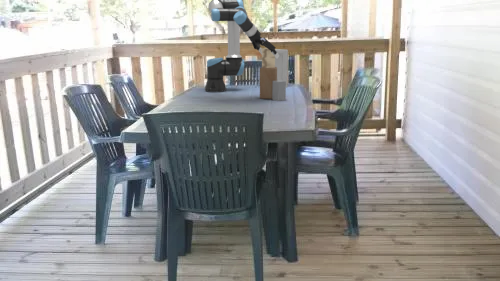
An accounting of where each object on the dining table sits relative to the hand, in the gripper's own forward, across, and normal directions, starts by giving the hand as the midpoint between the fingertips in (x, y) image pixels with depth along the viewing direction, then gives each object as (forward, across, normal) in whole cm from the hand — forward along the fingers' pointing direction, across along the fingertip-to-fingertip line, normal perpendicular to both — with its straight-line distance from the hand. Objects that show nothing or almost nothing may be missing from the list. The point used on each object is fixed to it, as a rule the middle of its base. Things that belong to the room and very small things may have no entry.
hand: (271, 56), depth 294 cm
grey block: (+18, +10, -20) cm, 29 cm away
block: (+17, 0, -21) cm, 27 cm away
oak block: (+3, 0, -6) cm, 7 cm away
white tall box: (+44, -44, +6) cm, 62 cm away
